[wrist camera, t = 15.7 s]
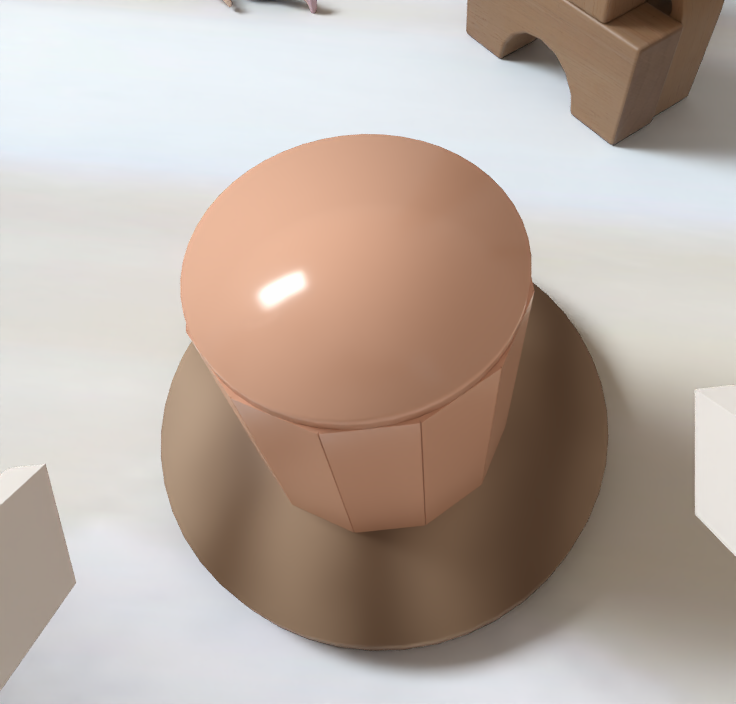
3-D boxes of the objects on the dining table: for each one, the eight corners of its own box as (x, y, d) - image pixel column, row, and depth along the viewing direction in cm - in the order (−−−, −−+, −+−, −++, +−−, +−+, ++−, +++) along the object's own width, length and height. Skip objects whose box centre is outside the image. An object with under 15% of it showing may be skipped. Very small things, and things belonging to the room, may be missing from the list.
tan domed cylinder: (257, 542, 29) (169, 438, 19) (257, 320, 34) (189, 154, 25) (523, 515, 28) (568, 395, 19) (480, 295, 34) (497, 116, 24)
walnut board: (156, 674, 28) (142, 670, 26) (183, 275, 38) (174, 258, 37) (657, 624, 27) (668, 618, 26) (548, 232, 37) (552, 213, 36)
